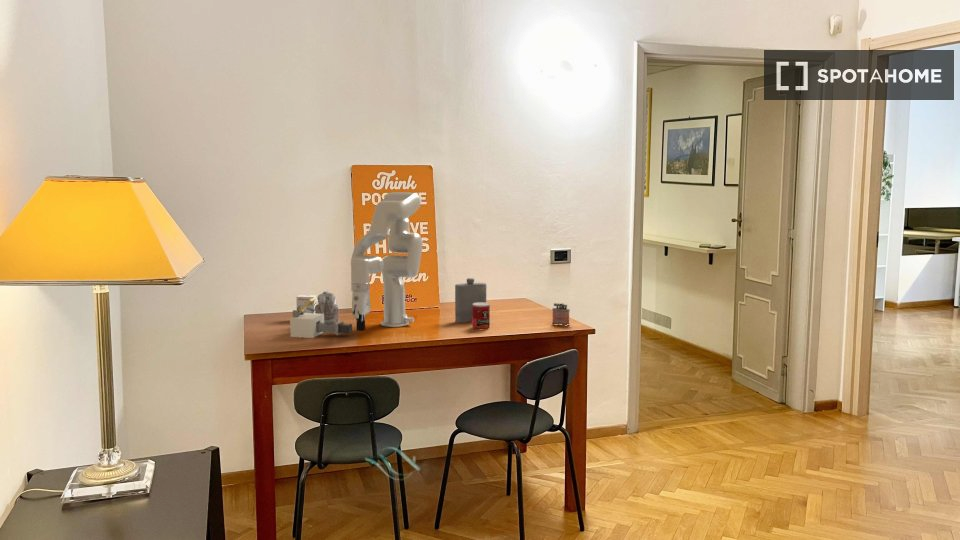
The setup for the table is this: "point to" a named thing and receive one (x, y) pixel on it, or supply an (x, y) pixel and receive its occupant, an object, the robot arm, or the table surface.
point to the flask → (468, 299)
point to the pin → (334, 327)
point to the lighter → (560, 314)
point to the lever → (305, 306)
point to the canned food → (481, 315)
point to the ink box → (303, 299)
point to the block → (305, 324)
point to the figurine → (327, 307)
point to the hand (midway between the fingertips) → (360, 330)
